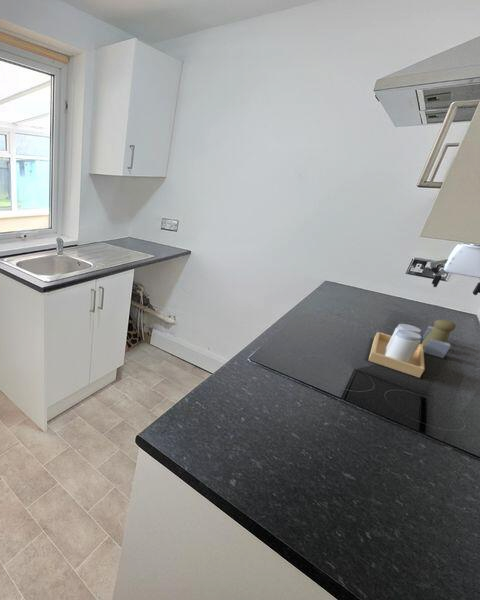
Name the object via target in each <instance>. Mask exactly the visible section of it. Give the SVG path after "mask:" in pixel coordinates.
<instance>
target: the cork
mask: <svg viewBox="0 0 480 600" xmlns="http://www.w3.org/2000/svg"><path fill="white" fill-rule="evenodd" d="M433 327H434V328H433V329H432V331H431V332H430V333H429V334H428V336H427V337H426V338H425V339H422V342H420V344H422V345H423V348H425V346H426V344H427V342H428V341H429V339H430V338H431V339H435V340H438V341H442V342H446V343H448V339H449V337H450V334H451V332H452V331H455V329H456V323H455V322H453V321H450V320H448V319H443V318H442V319H440V318H439V319H436V320H435V321H434V322H433Z"/></svg>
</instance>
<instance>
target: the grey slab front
mask: <svg viewBox="0 0 480 600" xmlns="http://www.w3.org/2000/svg"><path fill="white" fill-rule="evenodd" d="M450 348H451V343H449V342H447V343H446V342H442V341H438V340H435V339H431V338H430V339H429V341H428V342H427V344H426V346H425V347H423V351H424V354H427V355H431V356H434V357H437V358H441V359H444V358H445V356H446V355H447V353H448V352H449V350H450Z"/></svg>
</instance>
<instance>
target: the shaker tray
mask: <svg viewBox="0 0 480 600" xmlns="http://www.w3.org/2000/svg"><path fill="white" fill-rule="evenodd" d="M391 337H392V335H390V334H387V333H383V332H379V331H376V334H375V336H374V338H373V341H372V345H371V347H370V352H369V356H368V360H367V361H368V362H371V363H373V364H377V365H379V366H383V367H386V368H389V369H391V370H395V371H398V372H400V373H404V374H407V375H410V376H413V377H416V378H421V377H422V375H423V373H424V372H425V370H426V369H425V353H424V351H423V349H424V346H423V345H422V344H421V343H419V345H418V347H417V349H416V350H415V352H414V354H413V356H412V358H411V359H410V361H409V363H406V362H403V361H400V360H397V359H393V358H390V357H387V356H384V355H385V353H384V350H385V348H386V346H387V344H388V343H389V341H390V339H391Z"/></svg>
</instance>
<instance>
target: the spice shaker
mask: <svg viewBox="0 0 480 600" xmlns="http://www.w3.org/2000/svg"><path fill="white" fill-rule="evenodd" d="M398 330H408V331H411V332H414V333H417V334H419V335H420V336H421V332H422V329H421V328H419V327H417V326H414V325H411V324H407V323H398V325H397V326H396V327H395V328H394V331H393V332H392V335H391V336H392V337H391V339H390V341H389V343H388V344H387V346H386V348H385V350H384V353H386V351H387V349H388V347H389V345H390V343H391V341H392V339H393V337H394V335H395V333H397V331H398Z"/></svg>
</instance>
